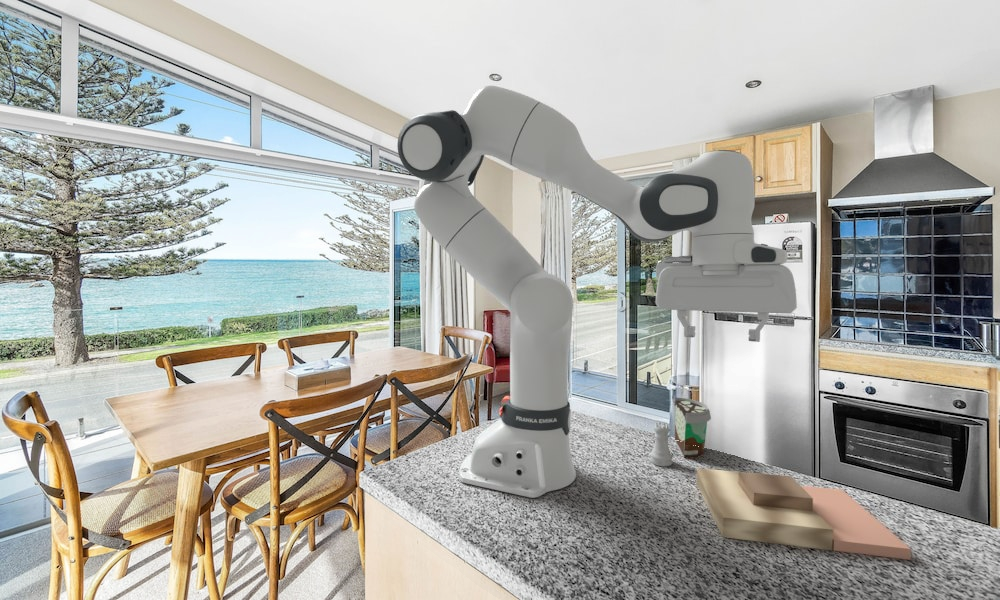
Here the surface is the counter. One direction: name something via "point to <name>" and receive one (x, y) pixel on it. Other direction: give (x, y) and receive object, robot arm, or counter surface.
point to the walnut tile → (774, 491)
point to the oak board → (759, 515)
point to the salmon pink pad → (855, 525)
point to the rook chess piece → (661, 446)
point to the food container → (690, 426)
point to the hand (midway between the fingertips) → (720, 338)
